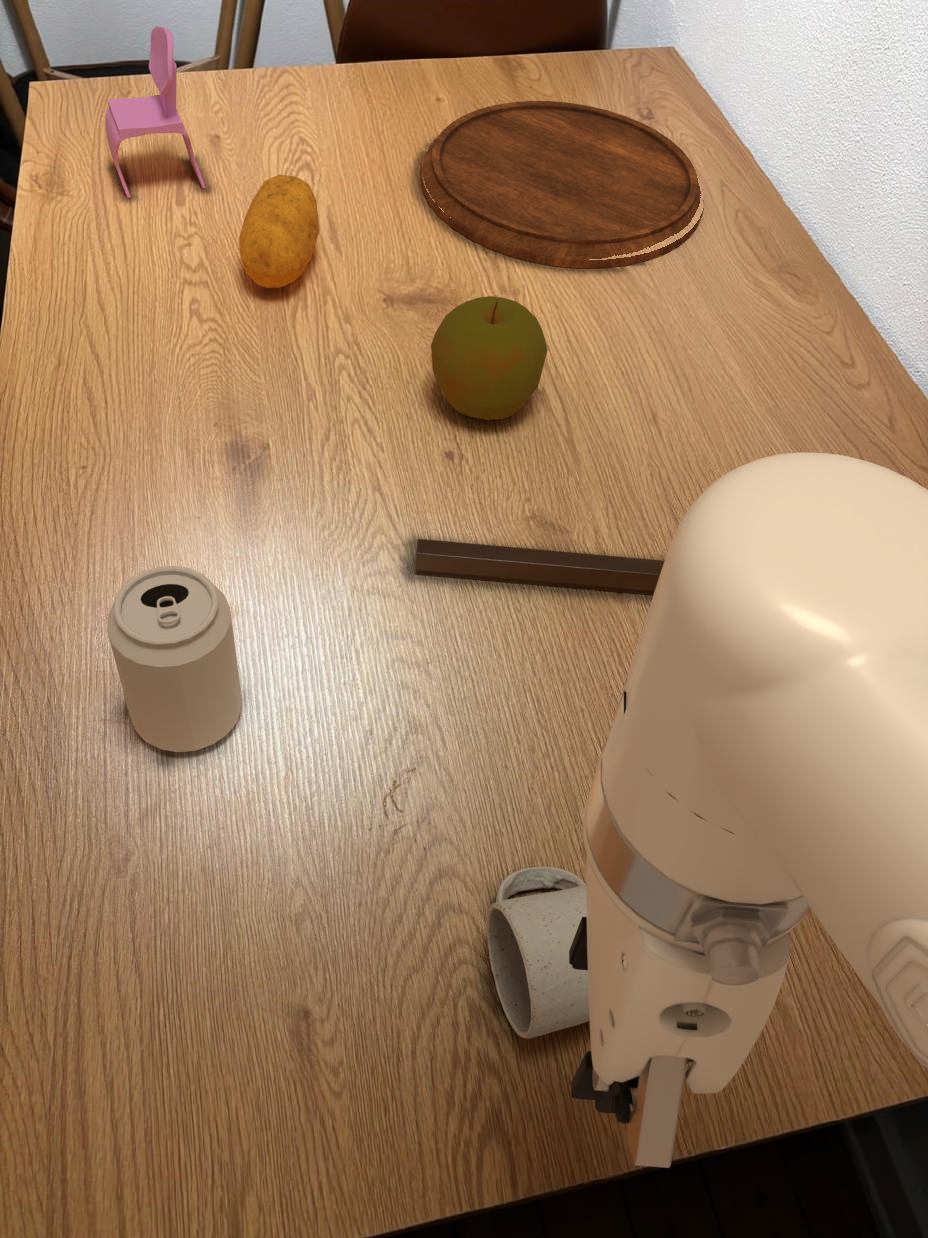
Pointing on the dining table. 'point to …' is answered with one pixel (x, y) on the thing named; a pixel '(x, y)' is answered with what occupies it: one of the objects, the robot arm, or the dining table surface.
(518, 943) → the ceramic mug
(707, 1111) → the dining table surface
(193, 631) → the can
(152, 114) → the toy chair
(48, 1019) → the dining table surface
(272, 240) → the potato
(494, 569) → the back rail
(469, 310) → the apple
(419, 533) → the dining table surface
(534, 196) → the cutting board
